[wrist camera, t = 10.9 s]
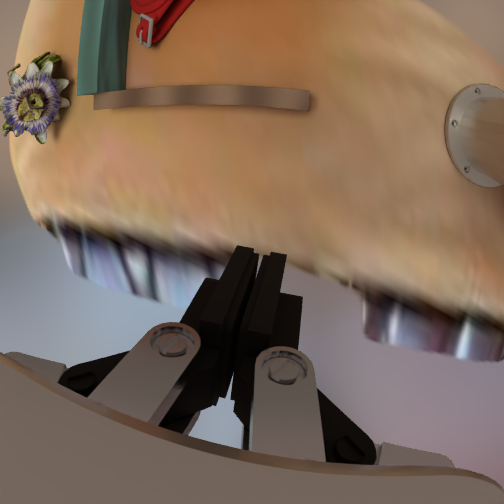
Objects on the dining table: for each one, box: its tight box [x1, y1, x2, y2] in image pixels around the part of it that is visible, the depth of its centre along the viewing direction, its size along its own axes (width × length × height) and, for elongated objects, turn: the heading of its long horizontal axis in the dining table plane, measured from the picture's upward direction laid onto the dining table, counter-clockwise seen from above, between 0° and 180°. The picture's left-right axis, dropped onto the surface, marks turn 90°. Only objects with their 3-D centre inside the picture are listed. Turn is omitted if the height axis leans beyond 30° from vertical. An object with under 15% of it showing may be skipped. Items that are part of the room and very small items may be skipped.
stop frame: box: [77, 0, 310, 111], centre depth 24 cm, size 25×21×6 cm
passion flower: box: [0, 52, 70, 144], centre depth 30 cm, size 11×11×12 cm
